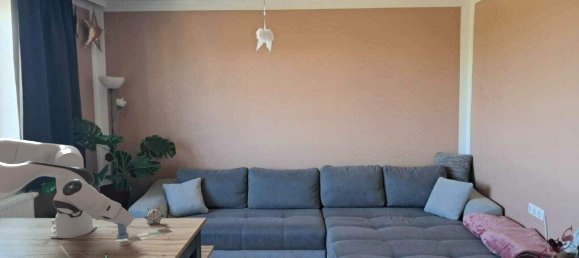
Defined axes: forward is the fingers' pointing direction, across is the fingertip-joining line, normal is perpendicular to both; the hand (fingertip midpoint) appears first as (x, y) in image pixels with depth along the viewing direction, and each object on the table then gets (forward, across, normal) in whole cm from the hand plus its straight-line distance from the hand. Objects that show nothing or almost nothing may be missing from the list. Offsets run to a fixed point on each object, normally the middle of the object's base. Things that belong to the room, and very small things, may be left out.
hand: (123, 223), depth 171 cm
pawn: (+4, 0, -4) cm, 6 cm away
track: (+12, +3, -1) cm, 12 cm away
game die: (+22, -6, +9) cm, 25 cm away
